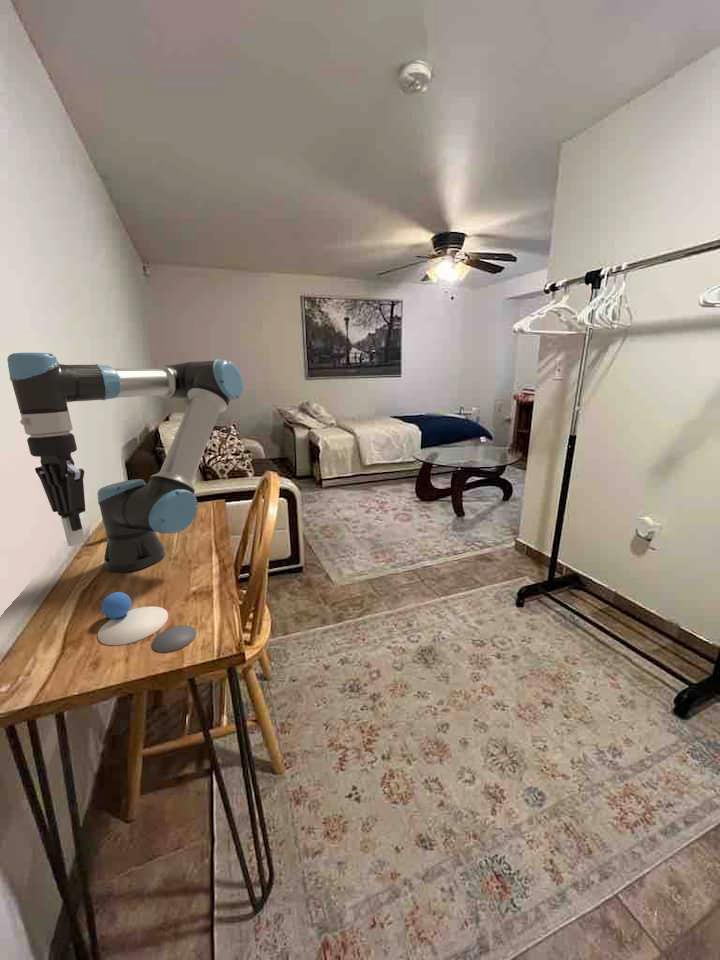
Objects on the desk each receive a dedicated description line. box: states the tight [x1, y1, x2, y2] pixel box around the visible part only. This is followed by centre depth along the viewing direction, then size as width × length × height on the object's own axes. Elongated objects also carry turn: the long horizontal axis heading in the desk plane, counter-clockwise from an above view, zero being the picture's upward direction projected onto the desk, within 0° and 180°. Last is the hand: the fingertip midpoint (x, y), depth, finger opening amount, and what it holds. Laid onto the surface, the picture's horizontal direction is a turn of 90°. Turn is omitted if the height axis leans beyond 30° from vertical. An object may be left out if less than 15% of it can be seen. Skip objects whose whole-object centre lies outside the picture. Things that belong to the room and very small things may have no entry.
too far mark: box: [151, 624, 197, 653], centre depth 77 cm, size 8×8×1 cm
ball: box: [101, 591, 132, 620], centre depth 85 cm, size 6×6×6 cm
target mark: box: [97, 606, 169, 646], centre depth 82 cm, size 13×13×1 cm
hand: (76, 543), depth 84 cm, fingers closed
